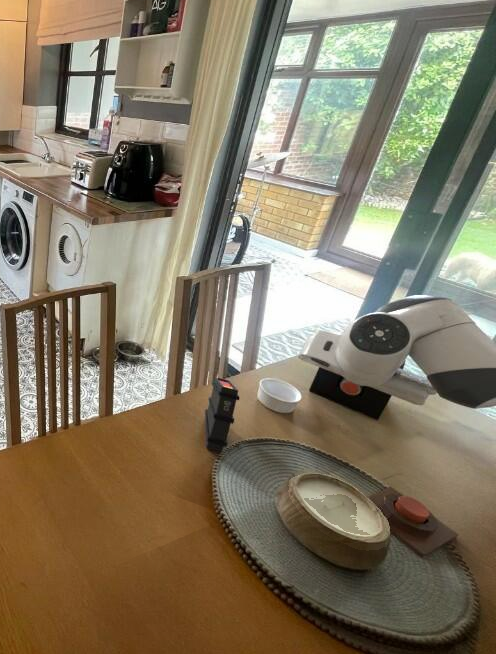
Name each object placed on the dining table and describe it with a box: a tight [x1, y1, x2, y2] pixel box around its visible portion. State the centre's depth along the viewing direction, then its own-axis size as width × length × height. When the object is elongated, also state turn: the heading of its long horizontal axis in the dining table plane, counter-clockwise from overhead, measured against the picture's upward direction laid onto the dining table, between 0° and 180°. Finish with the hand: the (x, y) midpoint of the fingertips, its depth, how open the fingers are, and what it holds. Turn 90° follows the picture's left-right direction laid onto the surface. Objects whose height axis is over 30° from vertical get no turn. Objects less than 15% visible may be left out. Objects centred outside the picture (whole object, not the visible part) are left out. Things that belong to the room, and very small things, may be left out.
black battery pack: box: [204, 376, 240, 454], centre depth 93 cm, size 4×13×15 cm, turn 155°
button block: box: [367, 486, 459, 559], centre depth 74 cm, size 10×10×4 cm
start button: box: [395, 495, 430, 523], centre depth 73 cm, size 4×4×2 cm
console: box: [308, 359, 407, 421], centre depth 105 cm, size 12×14×12 cm
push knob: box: [340, 378, 363, 395], centre depth 100 cm, size 3×4×4 cm
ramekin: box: [257, 377, 303, 414], centre depth 103 cm, size 9×9×4 cm
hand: (354, 379), depth 88 cm, fingers closed
